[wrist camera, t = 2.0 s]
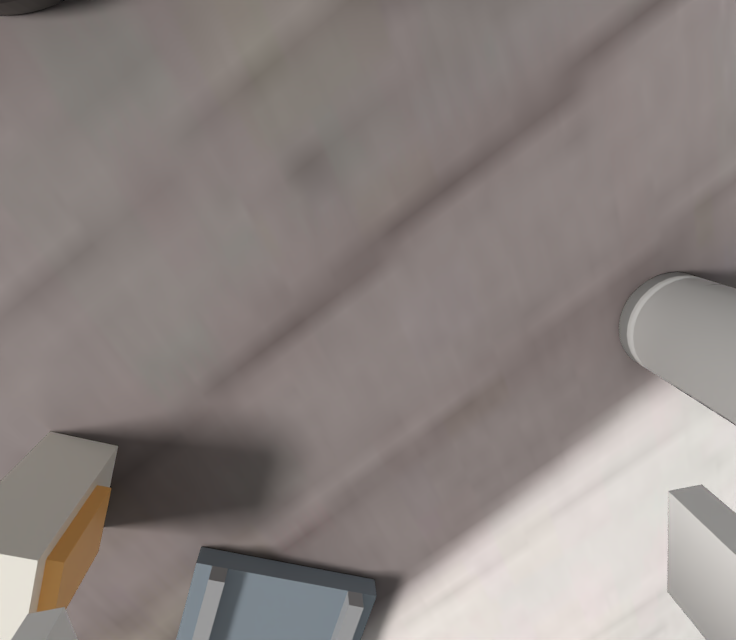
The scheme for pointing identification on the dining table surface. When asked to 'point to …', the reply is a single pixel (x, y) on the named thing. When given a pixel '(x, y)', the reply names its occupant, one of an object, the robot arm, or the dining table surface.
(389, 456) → the dining table surface
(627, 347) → the travel mug
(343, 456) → the dining table surface
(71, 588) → the white block orange panel
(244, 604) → the rail
